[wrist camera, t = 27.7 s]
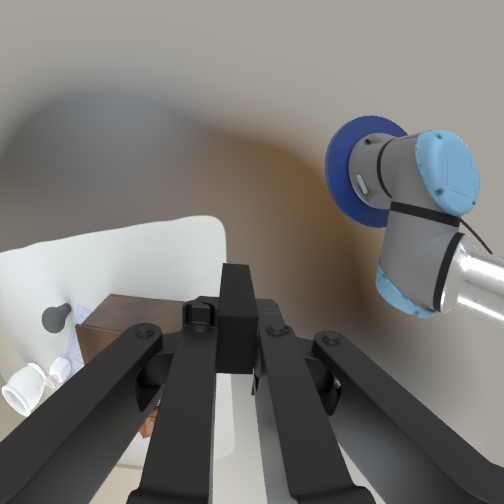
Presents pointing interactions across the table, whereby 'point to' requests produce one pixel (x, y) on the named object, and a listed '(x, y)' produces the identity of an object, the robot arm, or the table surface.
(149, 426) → the sunglasses case
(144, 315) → the chest
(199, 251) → the table surface
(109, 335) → the lid
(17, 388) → the jar
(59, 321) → the light bulb
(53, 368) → the salt shaker
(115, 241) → the table surface
